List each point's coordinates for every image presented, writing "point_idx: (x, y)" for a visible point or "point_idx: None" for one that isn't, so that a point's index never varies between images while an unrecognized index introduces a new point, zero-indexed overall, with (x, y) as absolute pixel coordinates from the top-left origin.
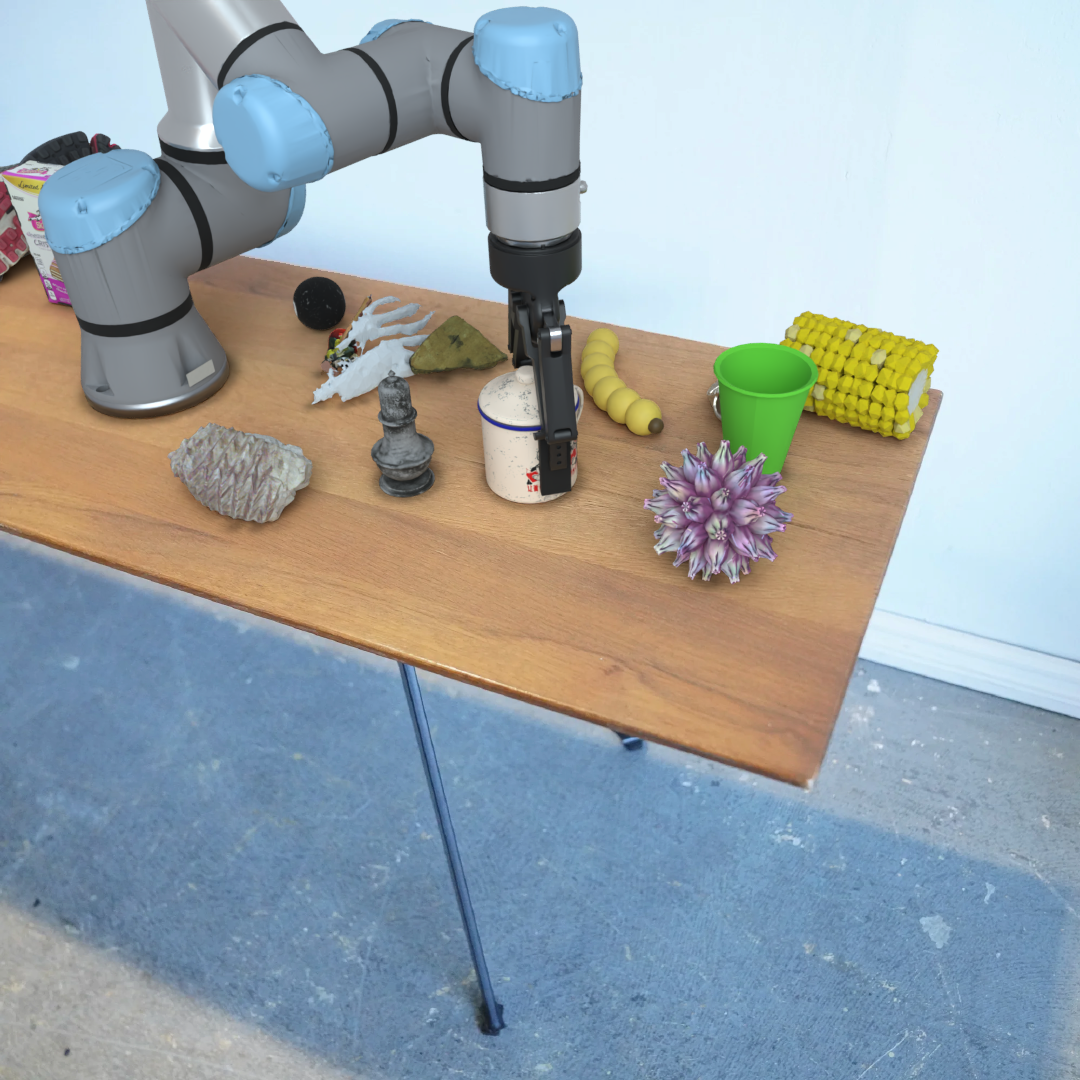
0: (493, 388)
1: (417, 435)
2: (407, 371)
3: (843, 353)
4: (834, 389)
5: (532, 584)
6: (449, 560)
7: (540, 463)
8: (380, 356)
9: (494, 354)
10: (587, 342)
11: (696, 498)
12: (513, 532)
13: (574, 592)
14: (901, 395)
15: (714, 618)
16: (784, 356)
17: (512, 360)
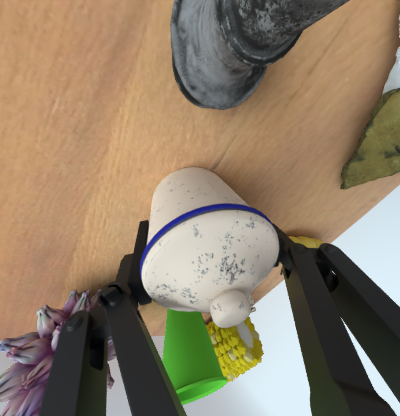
0: (239, 241)
1: (229, 74)
2: (393, 84)
3: (221, 369)
4: None
5: (27, 203)
6: (41, 115)
7: (136, 247)
8: None
9: (352, 181)
10: (320, 243)
11: (12, 395)
12: (111, 188)
13: (29, 234)
14: None
15: (34, 301)
16: (212, 382)
17: (302, 250)
